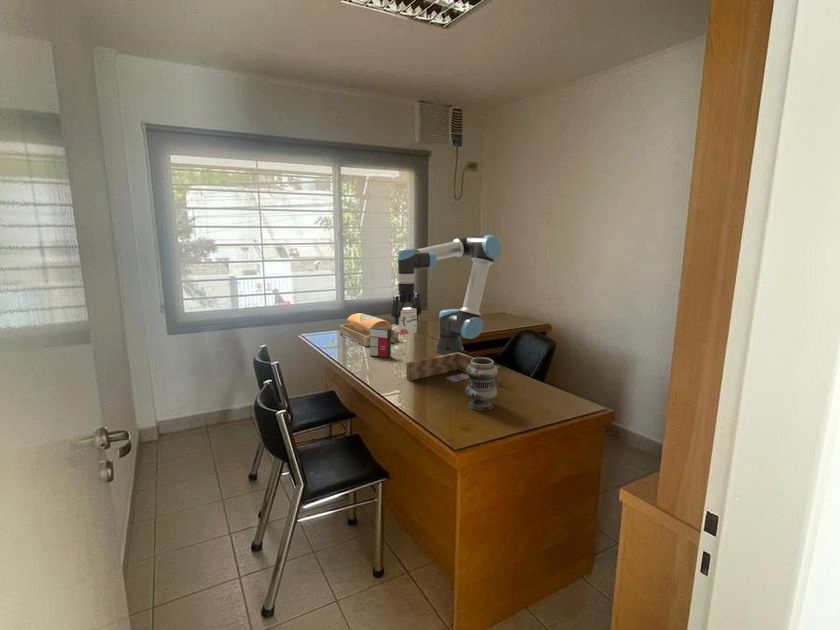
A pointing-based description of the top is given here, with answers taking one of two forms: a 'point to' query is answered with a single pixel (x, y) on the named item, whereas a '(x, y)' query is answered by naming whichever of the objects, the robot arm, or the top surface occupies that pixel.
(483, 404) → the apothecary jar
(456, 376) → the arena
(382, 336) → the grey and red box
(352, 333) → the crate
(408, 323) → the ink box
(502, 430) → the top surface
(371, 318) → the orange rounded block
